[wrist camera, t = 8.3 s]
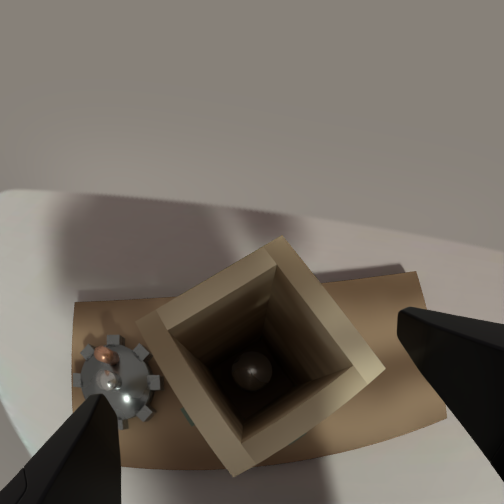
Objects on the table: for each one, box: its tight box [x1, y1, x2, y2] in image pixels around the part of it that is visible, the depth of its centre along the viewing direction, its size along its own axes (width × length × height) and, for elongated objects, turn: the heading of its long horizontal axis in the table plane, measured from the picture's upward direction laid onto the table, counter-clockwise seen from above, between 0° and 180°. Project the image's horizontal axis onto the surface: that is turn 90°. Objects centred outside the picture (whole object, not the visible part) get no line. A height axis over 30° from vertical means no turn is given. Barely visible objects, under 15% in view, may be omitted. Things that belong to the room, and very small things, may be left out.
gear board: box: [72, 271, 447, 470], centre depth 18 cm, size 11×25×1 cm, turn 96°
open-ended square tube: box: [135, 235, 386, 478], centre depth 13 cm, size 9×9×11 cm
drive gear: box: [73, 335, 164, 430], centre depth 16 cm, size 6×6×3 cm
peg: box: [232, 351, 272, 393], centre depth 15 cm, size 2×2×5 cm
